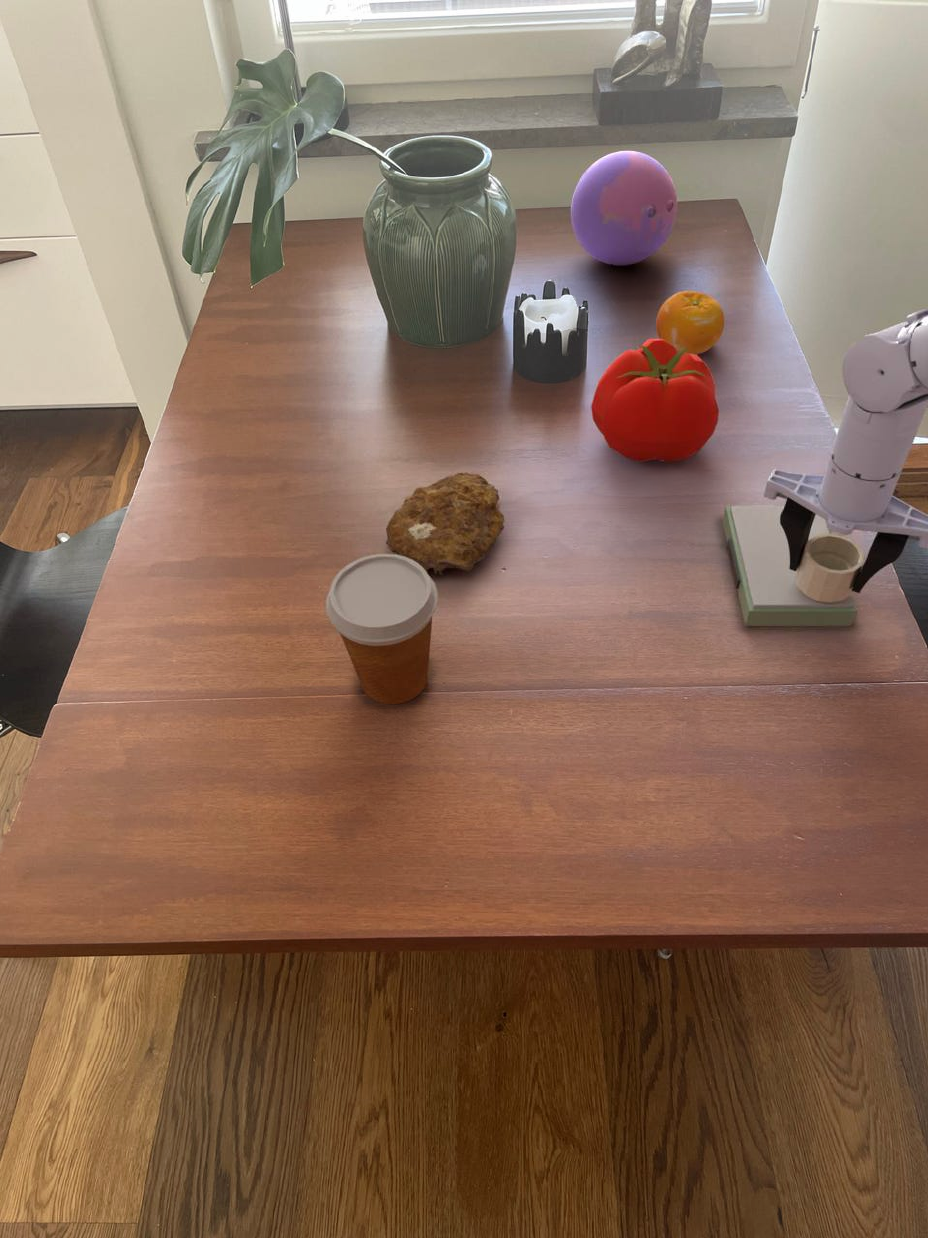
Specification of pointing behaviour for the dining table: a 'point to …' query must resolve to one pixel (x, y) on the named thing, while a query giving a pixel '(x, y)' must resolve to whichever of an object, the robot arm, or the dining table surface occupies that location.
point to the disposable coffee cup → (385, 623)
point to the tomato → (656, 403)
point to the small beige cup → (829, 568)
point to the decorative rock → (447, 523)
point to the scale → (774, 571)
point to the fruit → (690, 322)
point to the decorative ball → (624, 208)
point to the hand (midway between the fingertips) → (826, 574)
